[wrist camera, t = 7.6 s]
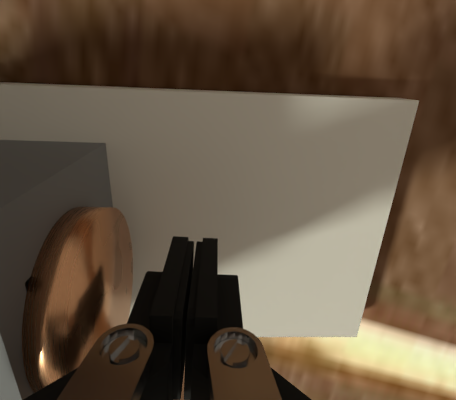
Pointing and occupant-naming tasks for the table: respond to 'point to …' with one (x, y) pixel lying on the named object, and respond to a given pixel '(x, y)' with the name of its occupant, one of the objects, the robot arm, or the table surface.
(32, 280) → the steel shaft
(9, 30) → the table surface
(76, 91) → the bearing board
